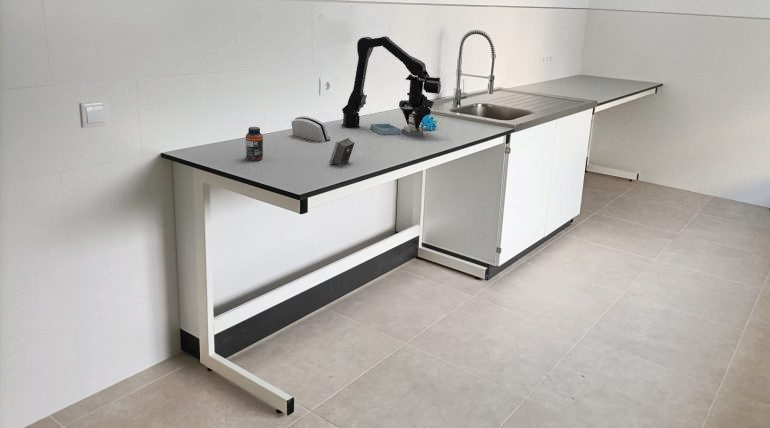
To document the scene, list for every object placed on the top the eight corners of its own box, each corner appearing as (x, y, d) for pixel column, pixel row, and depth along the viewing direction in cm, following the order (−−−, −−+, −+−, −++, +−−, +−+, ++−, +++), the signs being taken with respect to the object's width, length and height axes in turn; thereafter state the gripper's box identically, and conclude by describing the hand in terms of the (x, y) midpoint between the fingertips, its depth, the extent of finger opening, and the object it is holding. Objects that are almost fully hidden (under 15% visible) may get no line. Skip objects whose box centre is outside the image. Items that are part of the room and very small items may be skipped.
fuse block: (408, 137, 286) (409, 129, 285) (401, 133, 292) (402, 125, 291) (423, 136, 289) (423, 128, 288) (415, 132, 295) (416, 125, 294)
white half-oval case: (331, 140, 270) (327, 118, 264) (324, 146, 267) (319, 124, 261) (300, 133, 278) (295, 111, 273) (293, 138, 275) (288, 117, 270)
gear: (423, 128, 297) (417, 110, 300) (416, 135, 301) (409, 117, 304) (442, 130, 303) (435, 112, 307) (434, 137, 308) (427, 119, 311)
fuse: (410, 131, 287) (412, 115, 285) (406, 129, 291) (407, 113, 288) (418, 131, 289) (420, 115, 287) (414, 129, 292) (415, 113, 290)
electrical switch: (340, 159, 243) (343, 135, 240) (352, 162, 242) (356, 138, 238) (328, 164, 235) (331, 139, 231) (341, 168, 233) (345, 143, 230)
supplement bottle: (255, 156, 239) (255, 125, 235) (266, 159, 235) (266, 128, 231) (242, 158, 234) (242, 127, 231) (253, 162, 231) (253, 130, 227)
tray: (381, 135, 285) (381, 129, 285) (370, 129, 295) (370, 124, 294) (399, 134, 289) (400, 128, 289) (388, 129, 299) (388, 123, 298)
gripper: (443, 94, 280) (439, 131, 285) (421, 87, 295) (418, 121, 301) (420, 95, 275) (416, 131, 280) (399, 87, 291) (396, 122, 296)
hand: (412, 126), depth 289 cm, fingers open, 7 cm apart
